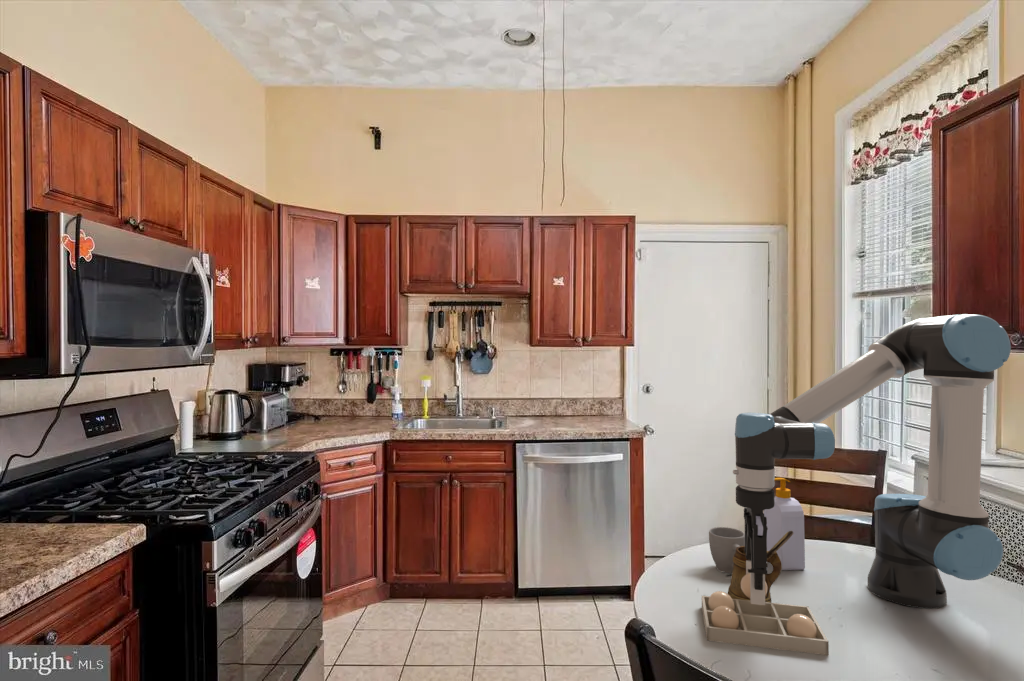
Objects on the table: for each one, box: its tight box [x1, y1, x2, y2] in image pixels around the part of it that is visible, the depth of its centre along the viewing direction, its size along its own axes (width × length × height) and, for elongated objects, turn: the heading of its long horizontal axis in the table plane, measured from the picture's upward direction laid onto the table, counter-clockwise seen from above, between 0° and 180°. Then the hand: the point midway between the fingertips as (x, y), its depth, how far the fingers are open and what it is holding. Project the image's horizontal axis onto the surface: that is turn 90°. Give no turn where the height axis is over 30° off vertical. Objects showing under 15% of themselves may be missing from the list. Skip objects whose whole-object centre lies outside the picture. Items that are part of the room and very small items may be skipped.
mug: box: [708, 526, 745, 574], centre depth 144 cm, size 12×9×10 cm
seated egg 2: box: [711, 606, 739, 630], centre depth 111 cm, size 5×5×5 cm
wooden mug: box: [727, 531, 793, 603], centre depth 125 cm, size 9×14×18 cm, turn 53°
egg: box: [741, 573, 768, 598], centre depth 116 cm, size 5×5×5 cm
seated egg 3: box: [787, 614, 817, 639], centre depth 108 cm, size 5×5×5 cm
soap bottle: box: [763, 477, 806, 571], centre depth 148 cm, size 9×7×23 cm
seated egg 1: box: [708, 590, 734, 611], centre depth 118 cm, size 5×5×5 cm
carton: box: [701, 595, 830, 656], centre depth 113 cm, size 22×14×3 cm
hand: (755, 597), depth 116 cm, fingers closed on egg, 5 cm apart
